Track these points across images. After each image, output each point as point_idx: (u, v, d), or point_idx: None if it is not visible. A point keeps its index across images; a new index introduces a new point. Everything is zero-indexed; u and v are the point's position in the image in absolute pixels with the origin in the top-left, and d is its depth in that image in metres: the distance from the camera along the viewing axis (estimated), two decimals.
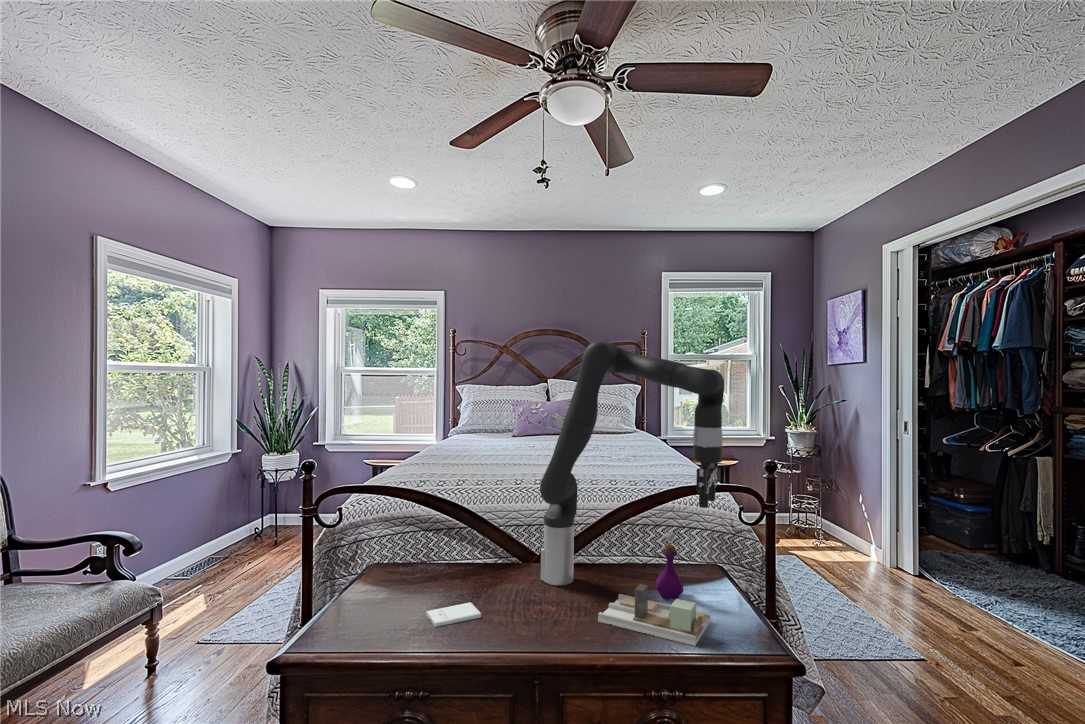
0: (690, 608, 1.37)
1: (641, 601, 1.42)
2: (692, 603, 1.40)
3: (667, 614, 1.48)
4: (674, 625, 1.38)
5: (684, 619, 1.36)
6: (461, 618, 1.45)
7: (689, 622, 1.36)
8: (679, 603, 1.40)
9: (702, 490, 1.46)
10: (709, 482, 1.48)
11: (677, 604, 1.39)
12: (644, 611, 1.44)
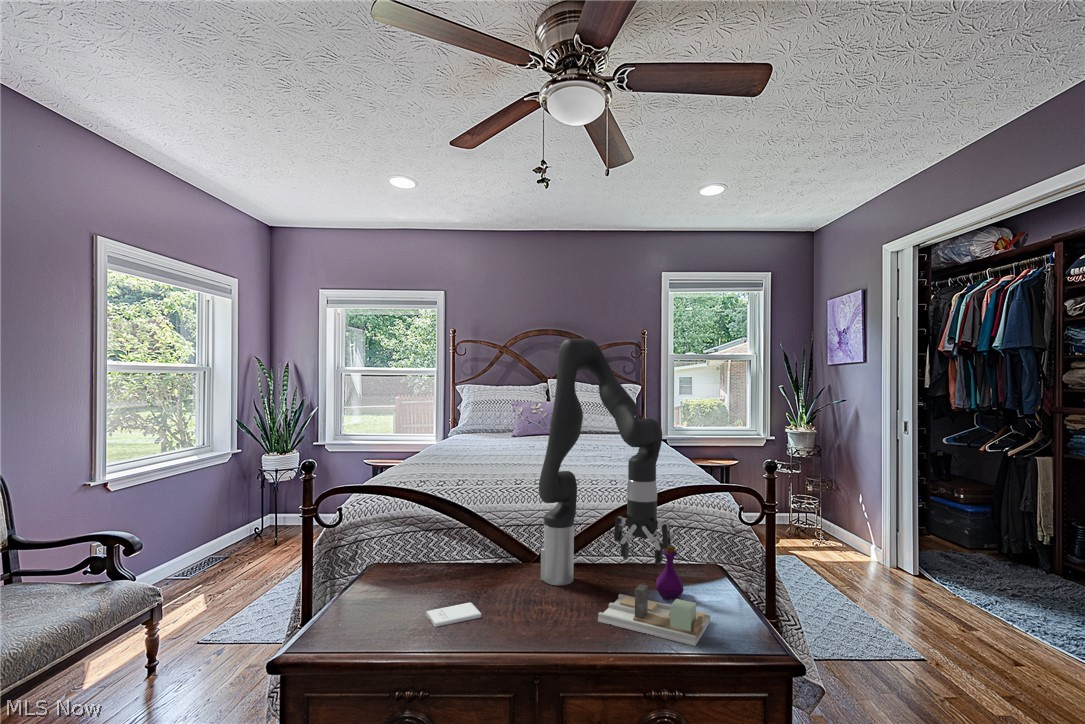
0: (690, 608, 1.37)
1: (641, 601, 1.42)
2: (692, 603, 1.40)
3: (667, 614, 1.48)
4: (674, 625, 1.38)
5: (684, 619, 1.36)
6: (461, 618, 1.45)
7: (689, 622, 1.36)
8: (679, 603, 1.40)
9: (669, 545, 1.41)
10: None
11: (677, 604, 1.39)
12: (644, 611, 1.44)
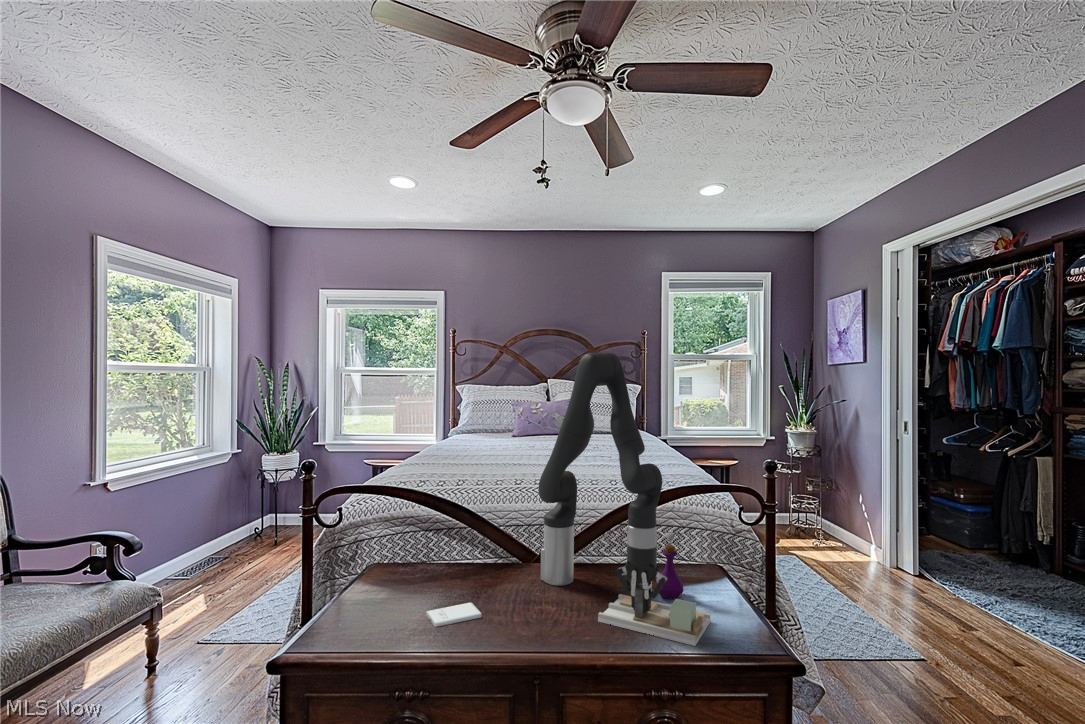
0: (690, 608, 1.37)
1: (641, 601, 1.42)
2: (692, 603, 1.40)
3: (667, 614, 1.48)
4: (674, 625, 1.38)
5: (684, 619, 1.36)
6: (461, 618, 1.45)
7: (689, 622, 1.36)
8: (679, 603, 1.40)
9: (657, 594, 1.43)
10: (651, 584, 1.45)
11: (677, 604, 1.39)
12: None
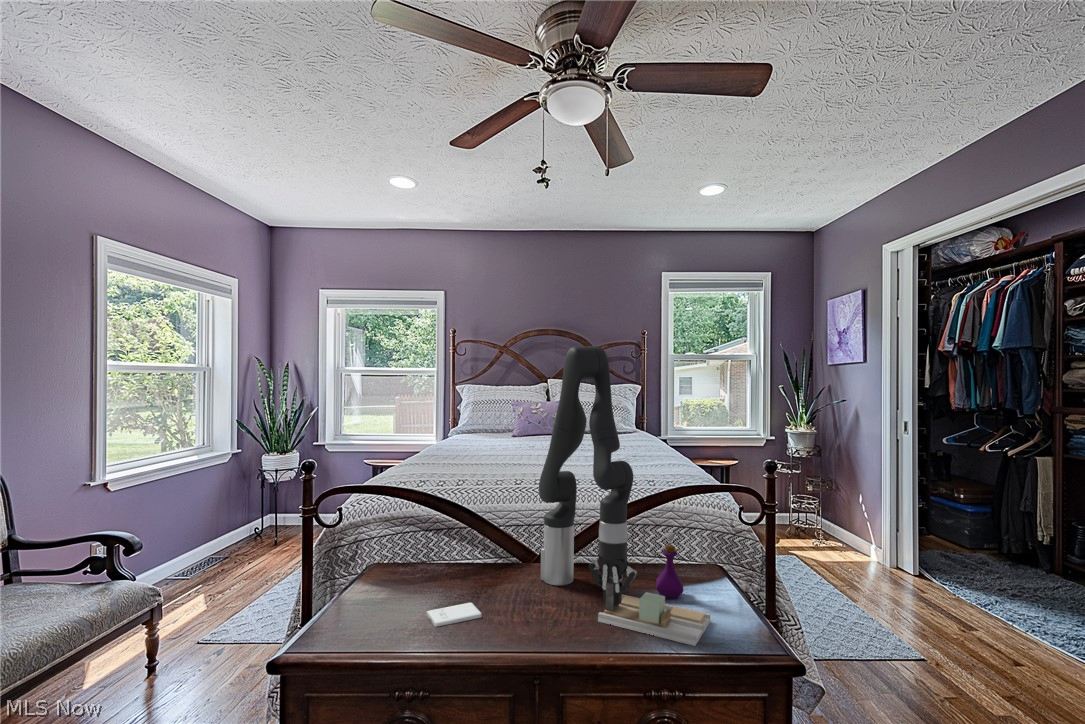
0: (658, 601, 1.41)
1: (612, 594, 1.46)
2: (661, 596, 1.44)
3: None
4: (643, 618, 1.42)
5: (652, 612, 1.40)
6: (461, 618, 1.45)
7: (657, 614, 1.40)
8: (649, 596, 1.44)
9: (627, 587, 1.47)
10: (622, 578, 1.49)
11: (646, 597, 1.43)
12: None
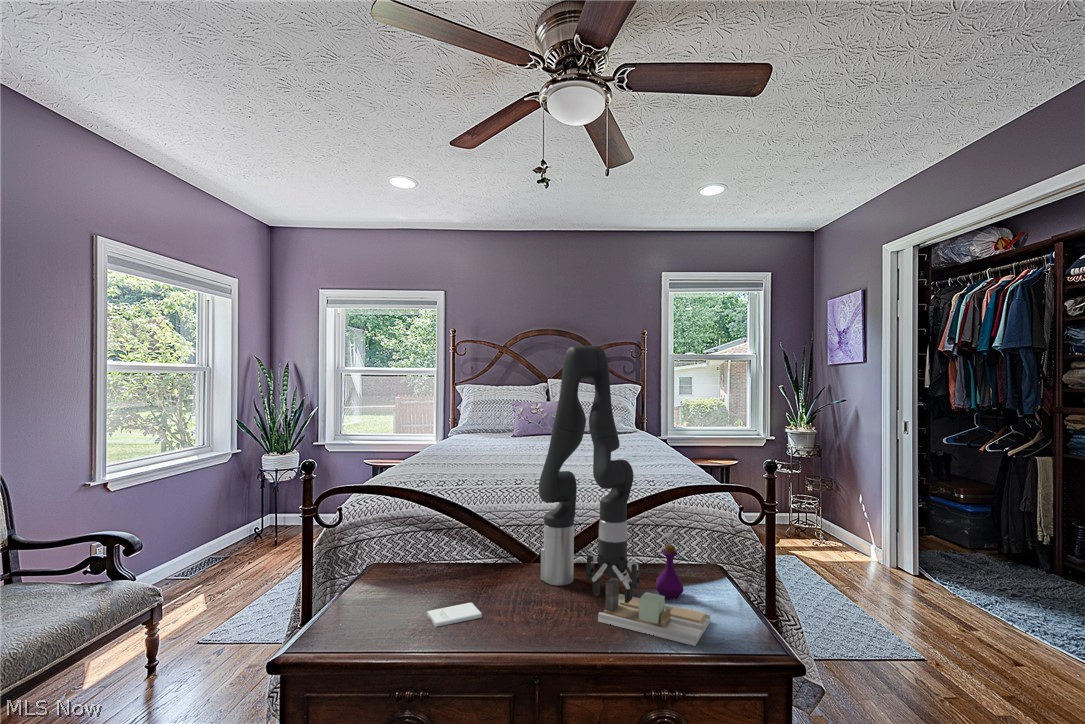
0: (658, 601, 1.41)
1: (611, 594, 1.46)
2: (660, 596, 1.44)
3: None
4: (642, 617, 1.42)
5: (652, 612, 1.40)
6: (461, 618, 1.45)
7: (657, 614, 1.40)
8: (648, 596, 1.44)
9: (638, 584, 1.45)
10: (628, 574, 1.48)
11: (646, 597, 1.43)
12: (615, 604, 1.48)
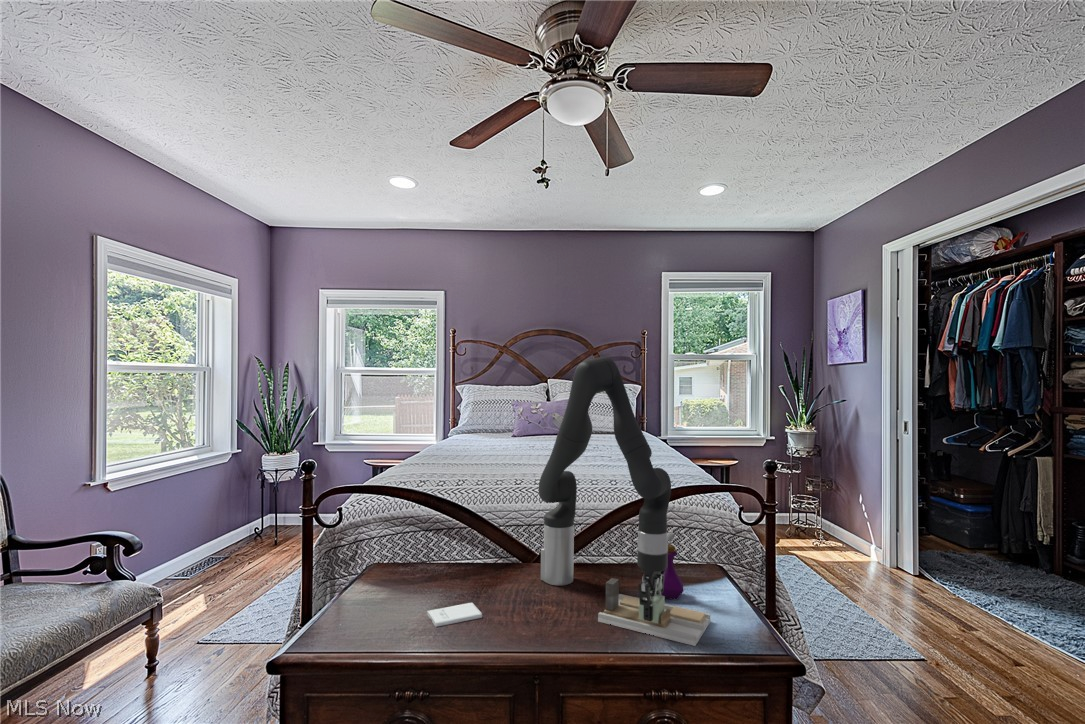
0: (658, 601, 1.41)
1: (611, 594, 1.46)
2: (660, 596, 1.44)
3: None
4: (643, 617, 1.42)
5: None
6: (462, 618, 1.45)
7: (657, 614, 1.40)
8: None
9: None
10: None
11: None
12: (615, 604, 1.48)
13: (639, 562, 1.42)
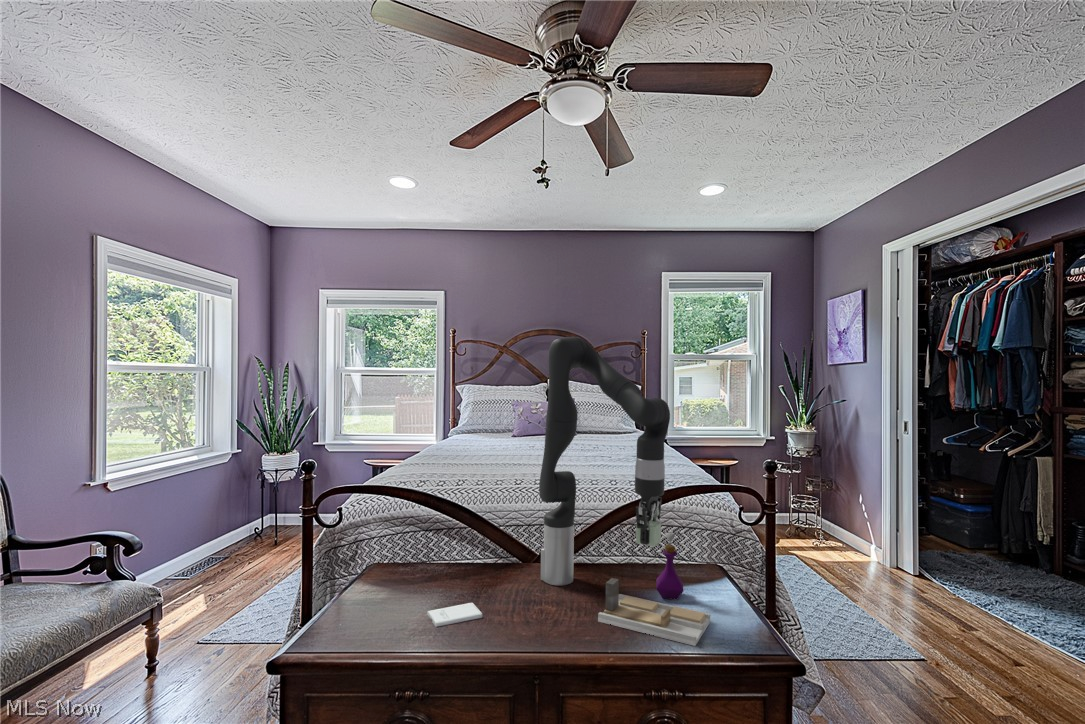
0: (654, 525, 1.45)
1: (611, 594, 1.46)
2: (657, 522, 1.48)
3: None
4: (639, 542, 1.46)
5: (649, 536, 1.44)
6: (462, 618, 1.45)
7: (653, 538, 1.44)
8: None
9: None
10: None
11: (643, 523, 1.47)
12: (615, 604, 1.48)
13: (636, 488, 1.46)
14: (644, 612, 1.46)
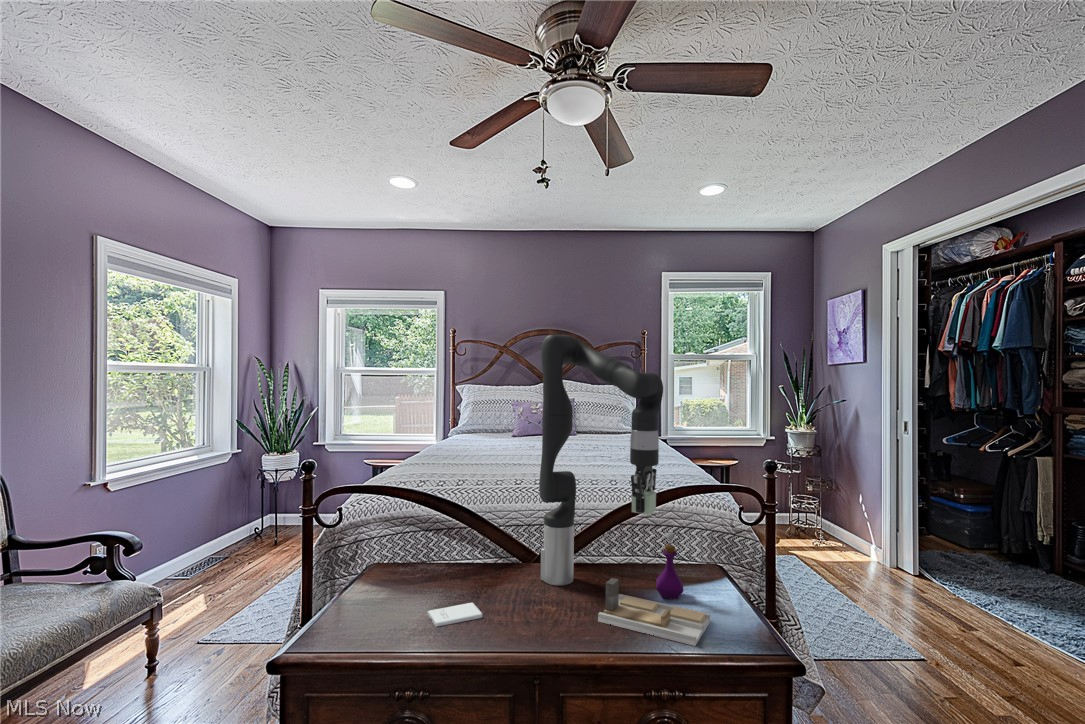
0: (649, 494, 1.50)
1: (611, 594, 1.46)
2: (652, 492, 1.53)
3: None
4: (635, 510, 1.51)
5: None
6: (462, 618, 1.45)
7: (648, 506, 1.49)
8: None
9: None
10: None
11: (638, 492, 1.52)
12: (615, 604, 1.48)
13: (632, 459, 1.51)
14: (644, 612, 1.46)
